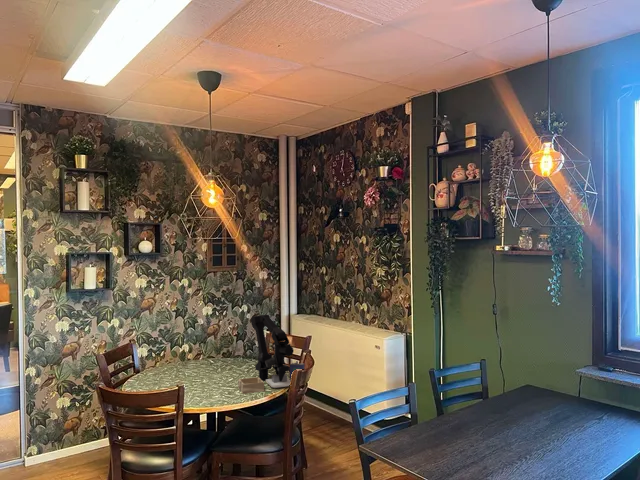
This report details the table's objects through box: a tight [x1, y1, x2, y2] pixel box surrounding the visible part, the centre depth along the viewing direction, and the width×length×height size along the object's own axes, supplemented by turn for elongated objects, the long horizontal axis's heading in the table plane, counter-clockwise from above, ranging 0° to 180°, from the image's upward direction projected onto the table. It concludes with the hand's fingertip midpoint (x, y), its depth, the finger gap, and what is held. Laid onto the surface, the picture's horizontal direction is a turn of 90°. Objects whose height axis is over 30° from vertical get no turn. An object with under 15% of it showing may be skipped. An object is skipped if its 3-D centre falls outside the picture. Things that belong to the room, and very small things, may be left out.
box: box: [237, 376, 265, 395], centre depth 271 cm, size 12×12×5 cm
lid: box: [265, 373, 292, 389], centre depth 278 cm, size 13×13×6 cm
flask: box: [289, 360, 305, 379], centre depth 294 cm, size 9×3×11 cm, turn 88°
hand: (279, 380), depth 278 cm, fingers closed on lid, 4 cm apart
